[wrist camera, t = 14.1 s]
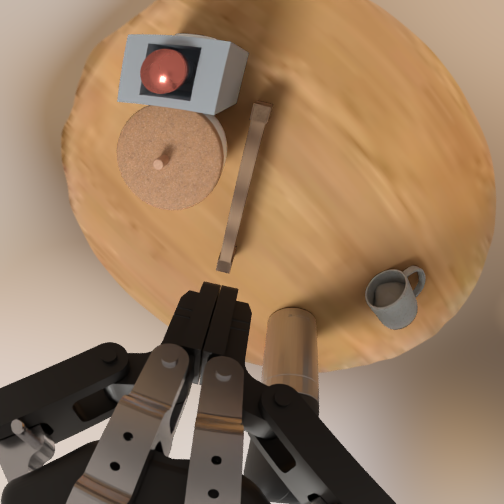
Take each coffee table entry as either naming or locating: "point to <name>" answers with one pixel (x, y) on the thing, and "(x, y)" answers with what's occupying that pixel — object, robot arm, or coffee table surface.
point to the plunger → (166, 71)
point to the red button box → (206, 79)
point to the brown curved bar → (243, 182)
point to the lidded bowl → (171, 156)
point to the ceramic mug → (394, 296)
